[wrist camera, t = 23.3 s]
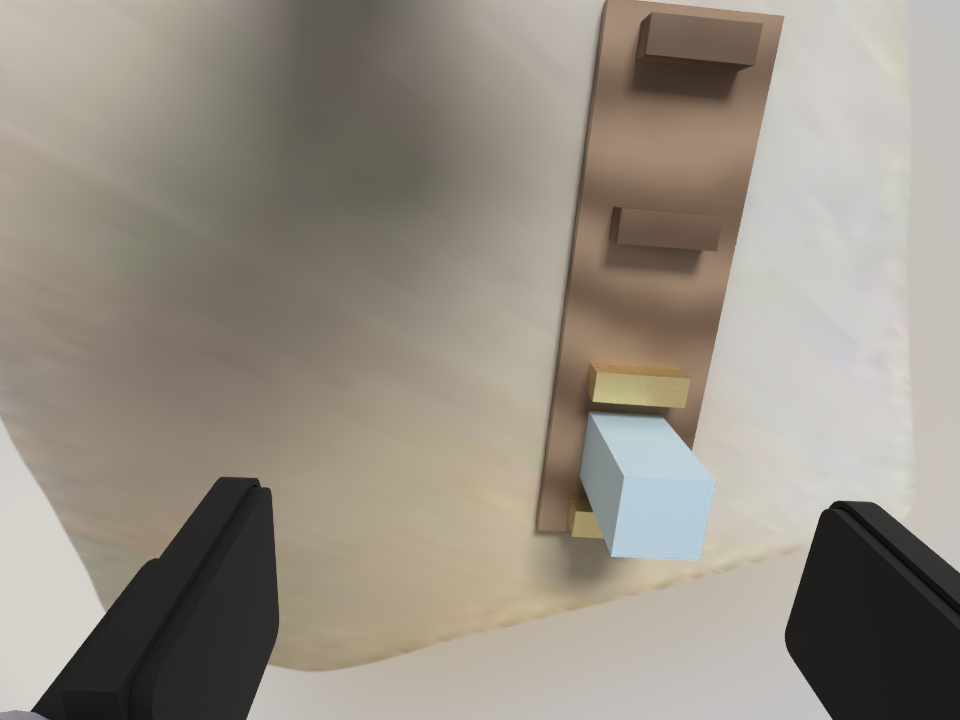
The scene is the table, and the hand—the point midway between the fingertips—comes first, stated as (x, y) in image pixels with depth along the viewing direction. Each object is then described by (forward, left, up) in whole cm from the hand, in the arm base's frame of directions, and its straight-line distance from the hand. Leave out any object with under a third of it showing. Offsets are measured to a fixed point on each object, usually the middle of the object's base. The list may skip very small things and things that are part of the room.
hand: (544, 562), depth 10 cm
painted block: (+11, +10, -28) cm, 32 cm away
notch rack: (+1, +10, -29) cm, 31 cm away
